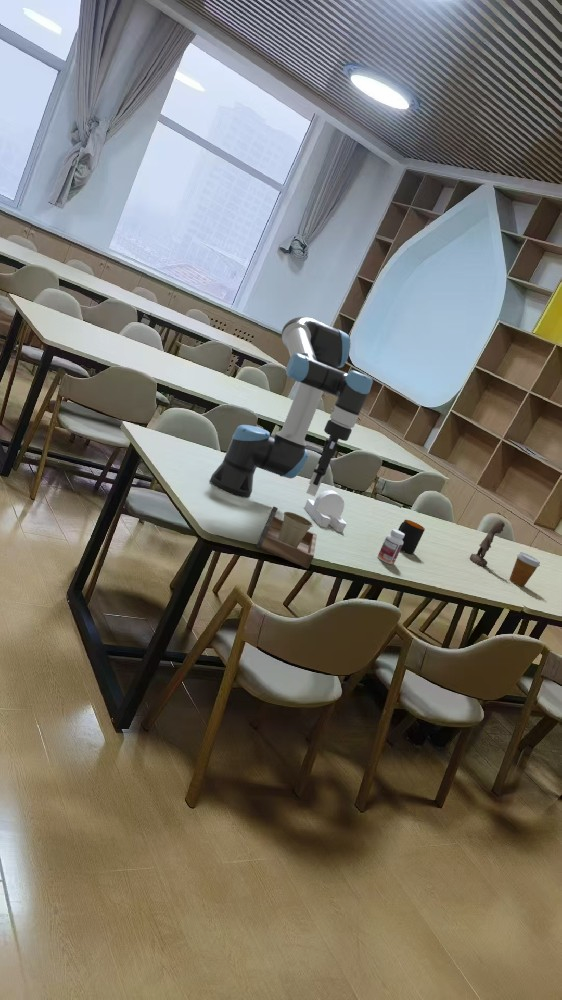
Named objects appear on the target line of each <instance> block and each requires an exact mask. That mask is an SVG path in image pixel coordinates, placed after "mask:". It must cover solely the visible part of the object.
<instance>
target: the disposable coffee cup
mask: <svg viewBox="0 0 562 1000" xmlns="http://www.w3.org/2000/svg"><path fill="white" fill-rule="evenodd" d="M516 557H517V558H516V560H515V562H514V566H513V568H512V570H511V574H510V577H509V581H510V582H511V583H513V584H515V585H516V586H518V587H522V588H524V587H525V586H526V584H527V583H528V581H529V580H530V578H531V577H532V576H533V575H534V573H535V572H536V570H537V568H538V567H540V564H541V561H540V560H539V559H538V558H535V557H534V556H532V555H529V554H528V553H525V552H519V553H518V554H517V556H516Z"/></svg>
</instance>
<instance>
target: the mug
mask: <svg viewBox="0 0 562 1000" xmlns="http://www.w3.org/2000/svg"><path fill="white" fill-rule="evenodd" d="M397 530H399V531H401V532H402V533H404V534H405V536H404V538H403V539H402V540H403V545H402V548H401V550H400V552H403V553H406V554H409V555H413V554H414V553H415V551H416V549H417V547H418V545H419V543H420V541H421V538H422V536H423V535H424V532H425V530H426V529H425V527H424V526H422V525H421V524H419V523H417V522H414V521H412V520H409V519H404V520H403V522H402V523H401V524H400V525H399V527H398V529H397Z"/></svg>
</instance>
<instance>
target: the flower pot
mask: <svg viewBox="0 0 562 1000" xmlns="http://www.w3.org/2000/svg"><path fill="white" fill-rule="evenodd" d="M282 520H283V524H282V528H281V531H280V534H279V538H278V540H279V541H281V542H284V543H286V544H288V545H291V546H293V547H295V548H297V547H298V545H299V543H300V542H301V540H302V539H303V537H304V535H305V534H306V532H307V531H309V530H310V528H312V527H314V524H313V522H311V520H309V519H307V518H306V517H304V516H302V515H300V514H297V513H294V512H291V511H284V512H283V518H282Z"/></svg>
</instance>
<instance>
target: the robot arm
mask: <svg viewBox="0 0 562 1000" xmlns="http://www.w3.org/2000/svg"><path fill="white" fill-rule="evenodd" d="M281 341H282V344H283V345H284V347H286V349H287V350H288V354H289V357H290V358H289V359H288V360H289V361H288V363H287V364H286V365H287V366H286V370H285V374H286V376H287V377H288V378H290V379H292V380H294V381H296V382H297V383H298V382H299V386H298V387H297V390H296V393H295V395H294V397H293V400H292V403H291V406H290V408H289V411H288V412H287V416H286V419H285V420H284V424H283V425H282V428H281V430H279V431H277V432H276V433H275V434H274V436H273V437H272V436H271V432H269V431H268V430H266V429H265V428H261V427H258V426H254V425H251V424H250V425H249V424H241V425H238V426H237V427H236V428H235V431H234V432H233V435H232V436H231V437H232V438H231V440H230V443H229V445H228V448H227V450H226V453H225V456H224V457H223V460H222V462H221V464H220V465H219V466H218V467H217V469H215V471H214V472H213V473H212V474H211V476H210V479H209V482H210V483H211V484H212V486H214V487H216V488H217V489H219V490H221V491H223V492H225V493H227V494H230V495H233V496H236V497H240V498H249V497H251V495H252V492H253V487H254V486H253V483H254V474H255V472H256V469H257V468H259V469H261V470H264V471H266V472H269V473H272V474H274V475H277V476H279V477H284V478H287V479H294V478H296V477H297V476H299V474H300V473H301V472H302V470H303V468H304V467H305V465H306V462H307V460H308V459H307V458H308V457H309V452H308V450H307V449H306V448H307V443H306V436H307V434H308V431H309V428H310V426H311V424H312V421H313V418H314V417H315V414H316V411H317V408H318V405H319V403H320V400H321V399H322V396H323V393H326V394H329V395H331V396H334V397H336V398H337V399H336V401H335V403H334V407H331V408H330V411H331V412H330V416H329V418H330V419H329V420H327V422H326V424H325V426H324V429H323V431H324V433H325V434H327V435H329V438H326V439H325V442H324V445H323V448H322V453H321V455H320V458H319V459H318V462H317V464H316V466H315V468H314V469H313V471H312V472H313V474H312V476H311V477H310V481H309V482H308V484H309V485H308V488H307V491H306V492H305V493H306V494H307V495H311V496H313V497H316V495H317V493H318V491H319V489H320V486H321V484H322V482H323V479H324V477H325V475H326V472H327V470H328V468H329V466H330V463H331V460H332V459H333V457H335V453H336V452H337V451H338V449H339V445H340V444H339V443H338V442H339V440H340V441H345V442H346V441H349V438H350V436H351V434H352V430H353V429H352V428H354V427H355V425H356V423H357V420H358V418H359V415H360V413H361V411H362V409H363V406H364V404H365V402H366V400H367V398H368V395H369V394H370V393H371V388H372V385H373V383H374V381H373V379H372V377H370V376H368V375H366V374H364V373H362V372H359V371H357V370H354V369H353V370H350V371H349V372H346V371H343V370H339V369H340V368H343V367H344V366H345V364H346V362H347V361H348V359H349V355H350V352H351V345H352V343H351V337H350V335H349V334H347V333H346V332H344V331H343V330H341V329H338V328H335V327H334V326H331V325H329V324H326V323H324V322H321V321H318V320H317V319H315V318H312V317H309V316H298V317H295V318H292V319H290V320H288V321H287V322H286V323H285V325H284V326H283V328H282V330H281Z"/></svg>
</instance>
